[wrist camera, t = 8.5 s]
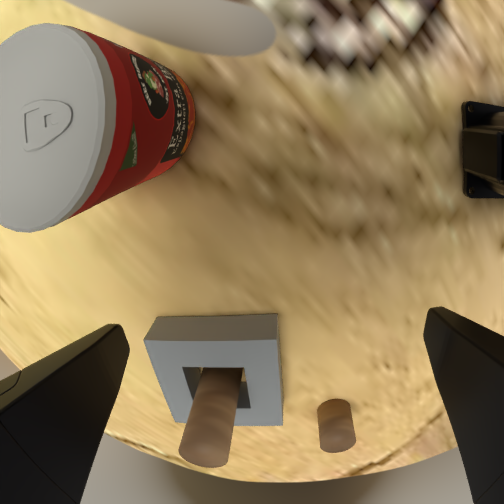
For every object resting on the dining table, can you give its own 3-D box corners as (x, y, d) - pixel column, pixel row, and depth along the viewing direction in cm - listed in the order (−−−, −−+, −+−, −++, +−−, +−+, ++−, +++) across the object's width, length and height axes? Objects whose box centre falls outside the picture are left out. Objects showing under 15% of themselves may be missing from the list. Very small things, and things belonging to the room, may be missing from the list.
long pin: (241, 348, 24) (223, 444, 15) (245, 376, 25) (231, 469, 16) (202, 348, 24) (172, 440, 16) (209, 376, 25) (185, 465, 17)
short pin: (351, 397, 25) (358, 431, 21) (348, 417, 26) (353, 450, 22) (317, 400, 25) (321, 435, 22) (316, 420, 26) (319, 454, 23)
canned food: (216, 154, 18) (140, 187, 8) (109, 196, 20) (-7, 259, 10) (177, 43, 16) (79, -23, 6) (75, 97, 17) (-51, 100, 7)
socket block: (277, 313, 22) (276, 339, 19) (283, 399, 25) (282, 425, 23) (157, 316, 23) (143, 340, 20) (183, 397, 26) (175, 422, 24)
